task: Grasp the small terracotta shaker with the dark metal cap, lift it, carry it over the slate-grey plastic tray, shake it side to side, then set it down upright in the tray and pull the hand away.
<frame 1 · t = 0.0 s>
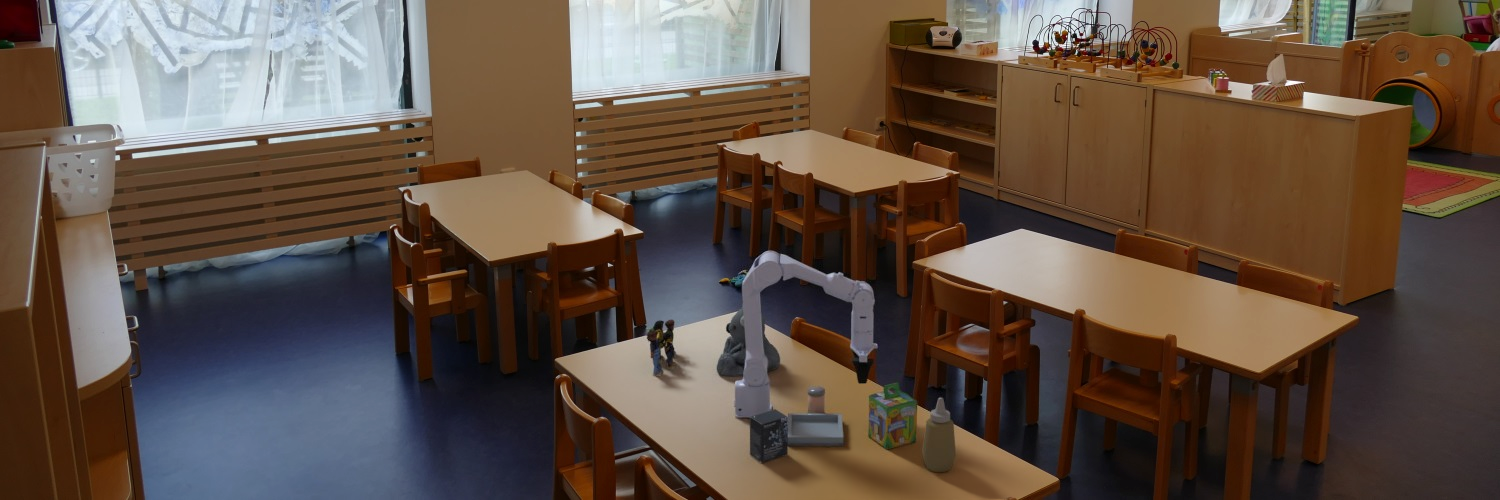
hand: (861, 377, 310), 10 cm above the table, tool pointing down, fingers open, 7 cm apart
doll family: (662, 365, 347), on the table
squeeze bottle: (938, 467, 283), on the table
chalk box: (892, 440, 297), on the table
box: (769, 455, 290), on the table
koala plush: (750, 367, 344), on the table
shaker: (816, 413, 312), on the table
tray: (814, 433, 301), on the table
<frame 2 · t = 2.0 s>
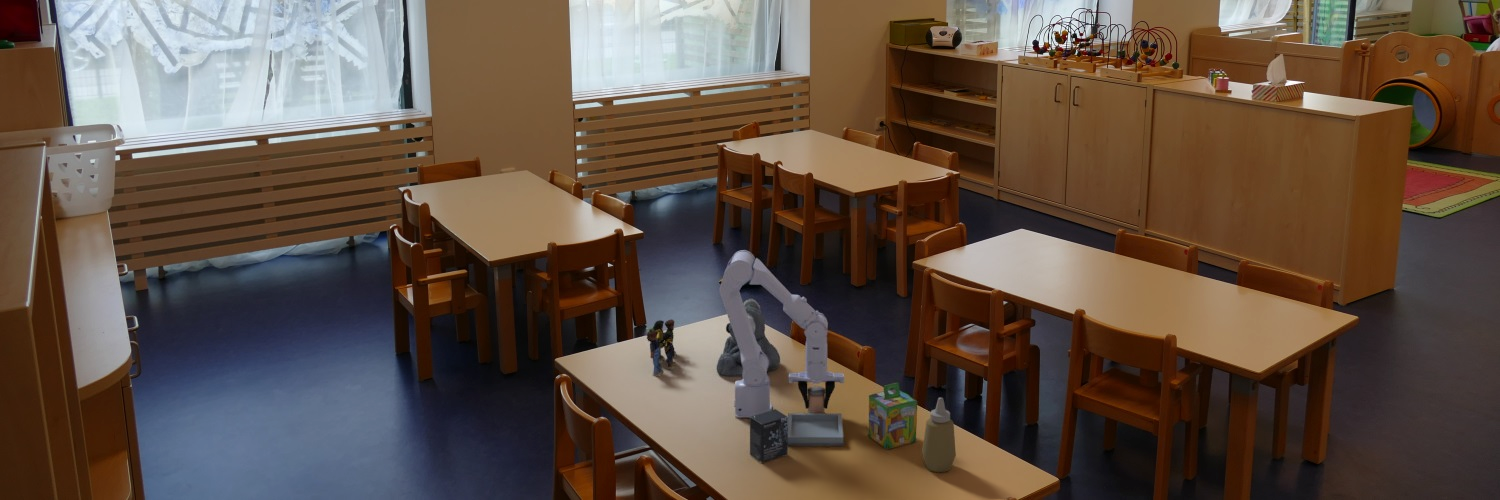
hand: (816, 407, 312), 2 cm above the table, tool pointing down, fingers closed on shaker, 4 cm apart
shaker: (816, 413, 312), on the table, touching gripper
everything else where it was.
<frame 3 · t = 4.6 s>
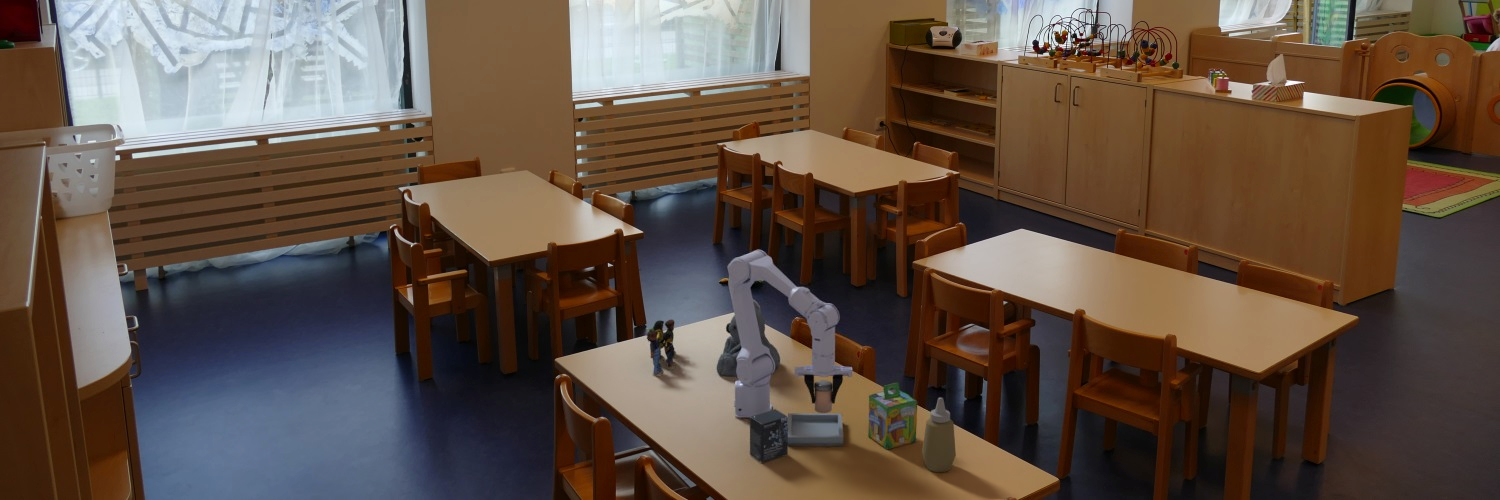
hand: (823, 401, 298), 9 cm above the table, tool pointing down, fingers closed on shaker, 4 cm apart
shaker: (823, 409, 299), point 7 cm above the table, touching gripper
everything else where it was.
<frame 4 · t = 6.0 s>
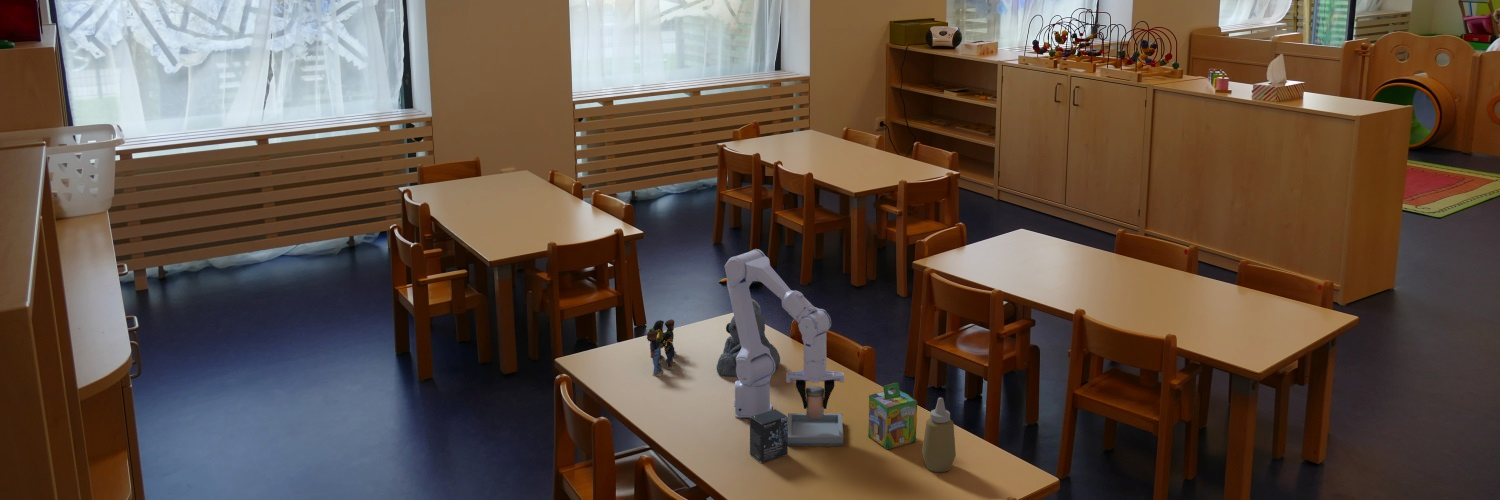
hand: (815, 407, 299), 7 cm above the table, tool pointing down, fingers closed on shaker, 4 cm apart
shaker: (815, 414, 300), point 5 cm above the table, touching gripper
everything else where it was.
when the fingers open (4 cm above the table, at t = 7.0 s): shaker stays where it is, resting on tray.
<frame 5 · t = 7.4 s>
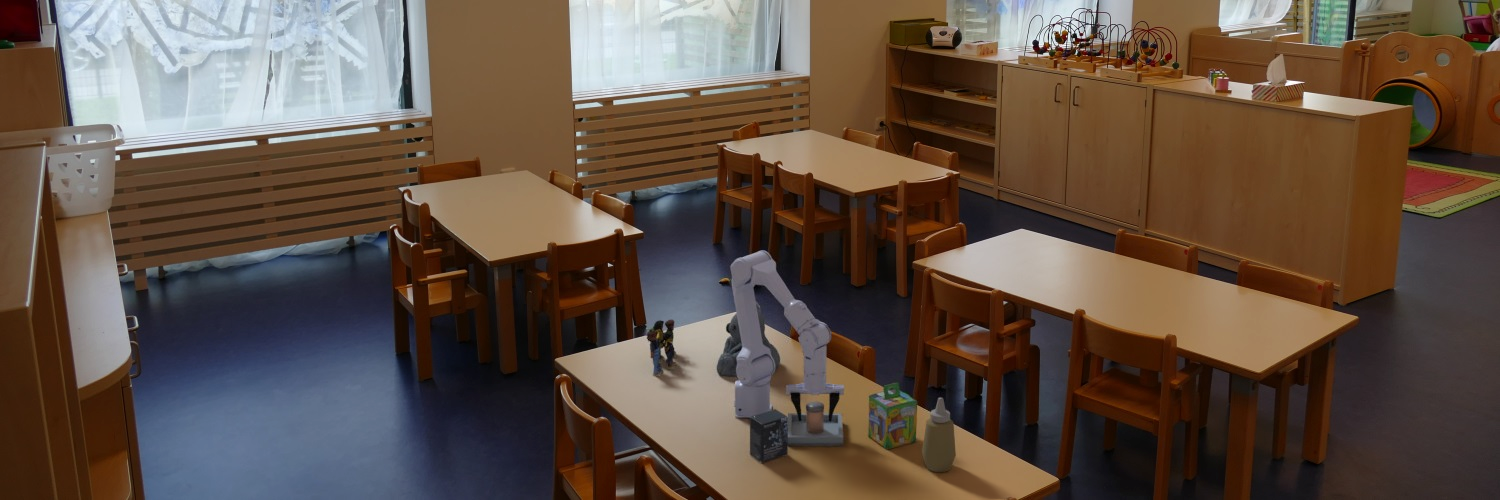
hand: (814, 419, 300), 4 cm above the table, tool pointing down, fingers open, 7 cm apart
shaker: (814, 430, 301), point 1 cm above the table, touching tray
everything else where it was.
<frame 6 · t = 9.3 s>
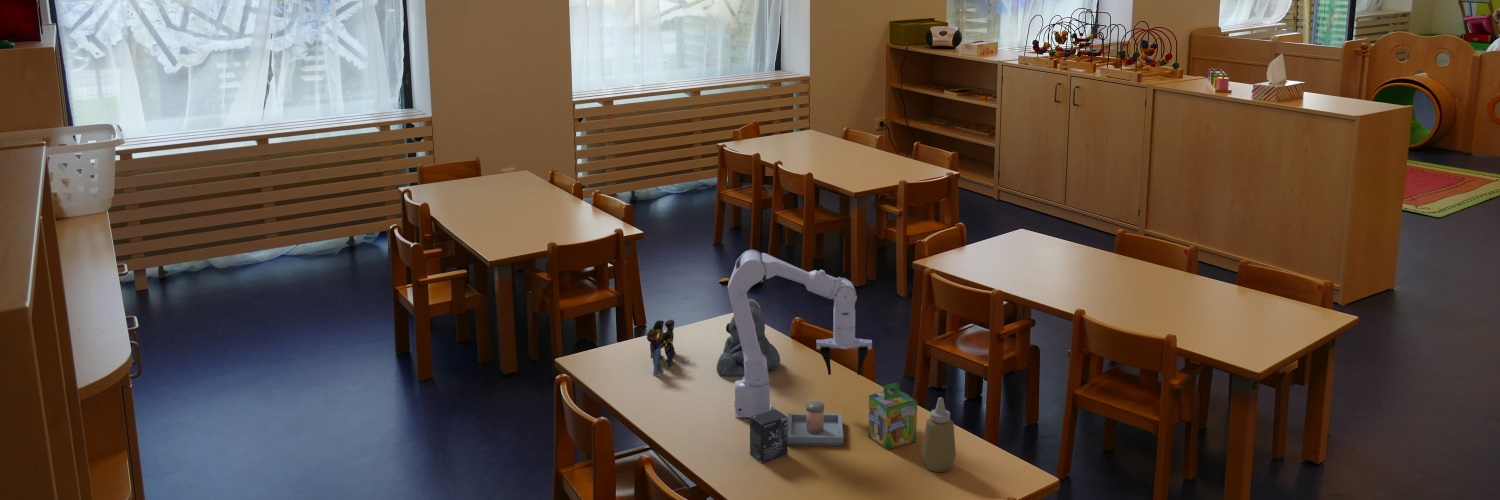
hand: (843, 373, 311), 10 cm above the table, tool pointing down, fingers open, 7 cm apart
nothing on the table moved.
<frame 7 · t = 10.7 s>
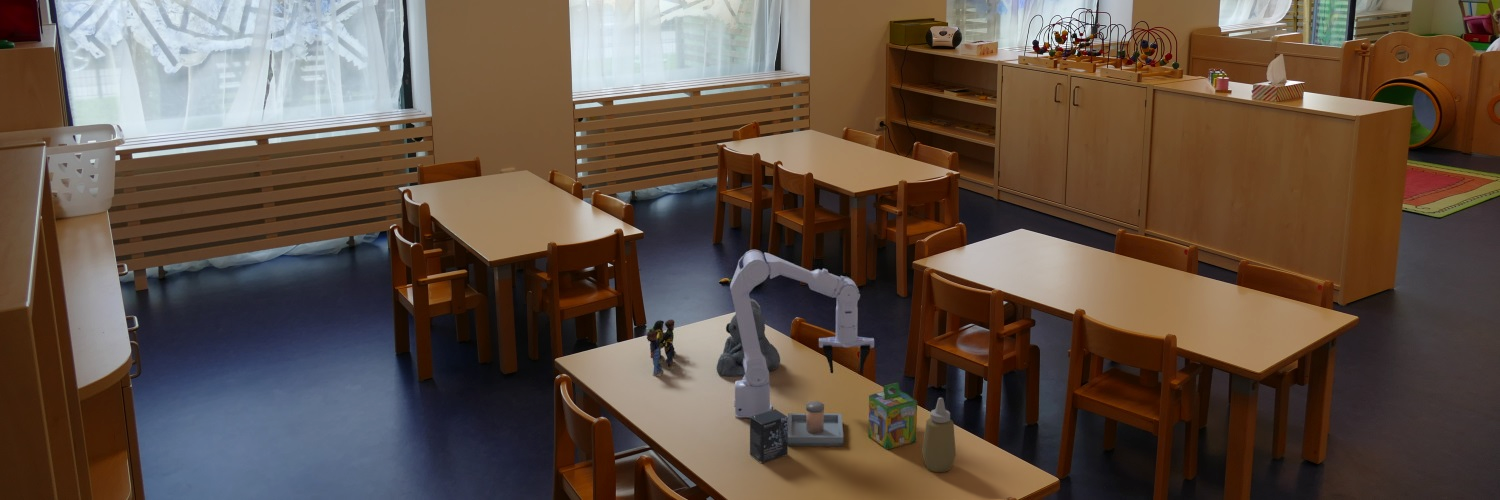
hand: (846, 371, 313), 10 cm above the table, tool pointing down, fingers open, 7 cm apart
nothing on the table moved.
at the end: shaker inside the target area on the tray (0.4 cm from its centre), point 0.8 cm above the tray's base; shaker tilted 0°; the gripper is holding nothing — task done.
